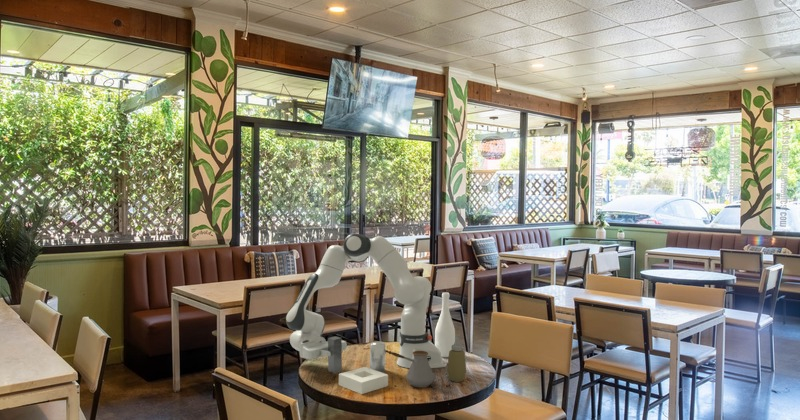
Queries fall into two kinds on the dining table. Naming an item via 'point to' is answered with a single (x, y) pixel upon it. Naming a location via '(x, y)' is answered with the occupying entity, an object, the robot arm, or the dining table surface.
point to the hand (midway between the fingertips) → (336, 352)
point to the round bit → (377, 356)
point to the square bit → (335, 354)
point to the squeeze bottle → (456, 362)
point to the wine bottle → (445, 328)
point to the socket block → (363, 380)
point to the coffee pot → (418, 369)
